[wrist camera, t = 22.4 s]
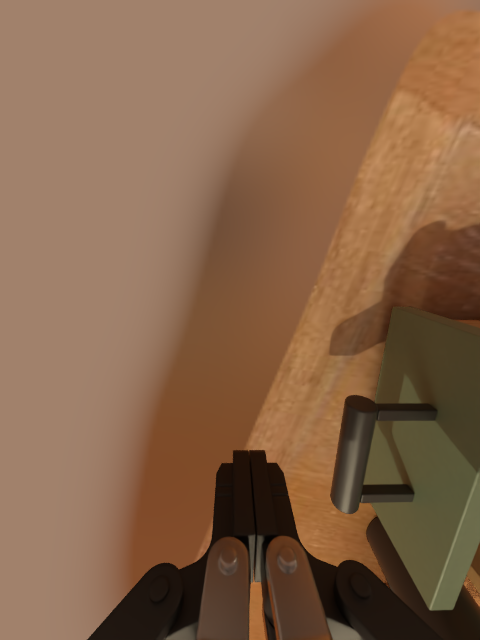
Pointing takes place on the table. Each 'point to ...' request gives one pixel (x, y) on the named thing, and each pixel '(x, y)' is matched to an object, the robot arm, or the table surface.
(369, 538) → the canister
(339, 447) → the drawer
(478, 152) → the table surface
